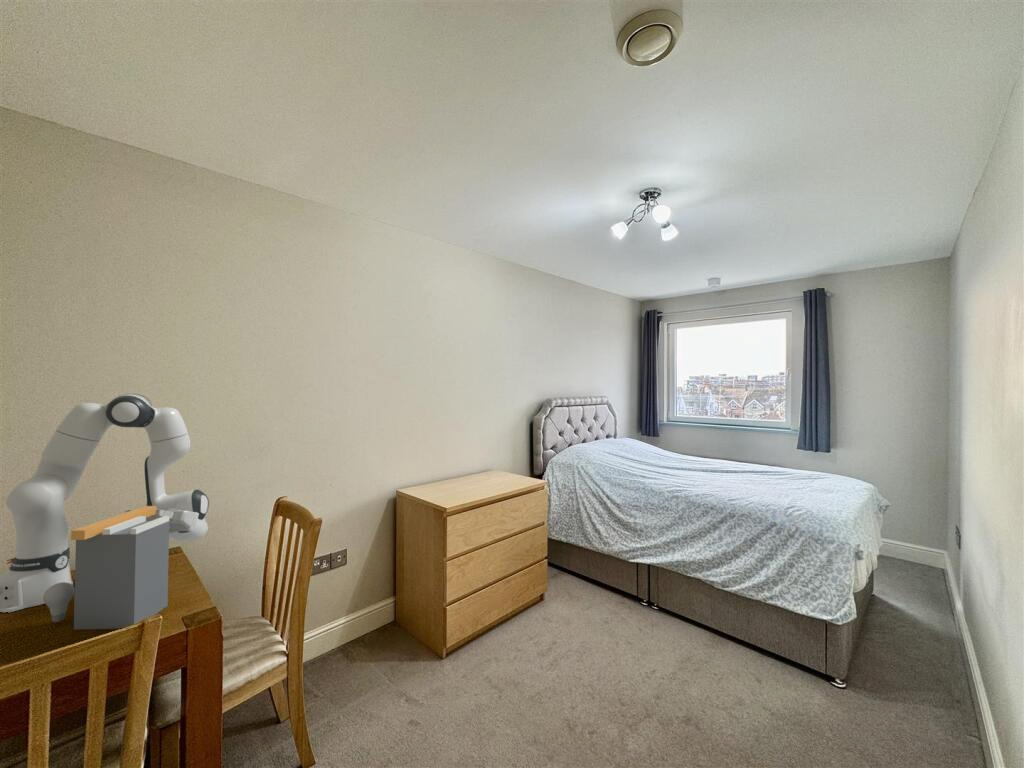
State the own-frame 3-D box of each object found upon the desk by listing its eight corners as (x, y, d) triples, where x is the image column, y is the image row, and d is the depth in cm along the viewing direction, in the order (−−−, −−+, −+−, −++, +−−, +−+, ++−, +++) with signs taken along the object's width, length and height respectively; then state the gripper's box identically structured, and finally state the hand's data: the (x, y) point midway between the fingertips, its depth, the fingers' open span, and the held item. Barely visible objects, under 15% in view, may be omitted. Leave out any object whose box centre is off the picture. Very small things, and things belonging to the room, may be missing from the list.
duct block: (73, 629, 115) (76, 529, 116) (113, 607, 127) (115, 516, 128) (133, 628, 116) (136, 528, 116) (167, 606, 128) (169, 516, 128)
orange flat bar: (70, 539, 112) (71, 530, 112) (145, 513, 136) (145, 506, 136) (84, 539, 112) (84, 530, 112) (156, 513, 136) (156, 505, 136)
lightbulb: (39, 630, 115) (40, 590, 115) (46, 620, 120) (47, 582, 120) (70, 623, 118) (71, 584, 118) (76, 614, 123) (77, 576, 123)
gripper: (143, 513, 145) (112, 502, 134) (203, 513, 146) (178, 502, 135) (135, 532, 142) (103, 522, 130) (197, 531, 143) (170, 522, 131)
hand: (142, 512), depth 132 cm, fingers open, 8 cm apart
